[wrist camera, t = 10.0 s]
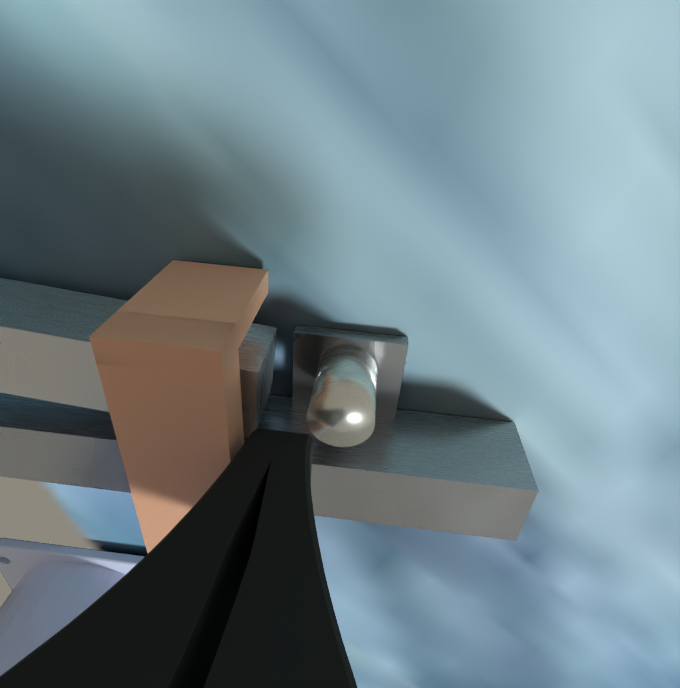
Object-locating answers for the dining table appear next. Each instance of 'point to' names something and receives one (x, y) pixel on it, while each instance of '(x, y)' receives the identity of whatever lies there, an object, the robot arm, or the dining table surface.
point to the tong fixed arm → (323, 443)
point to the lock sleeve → (177, 384)
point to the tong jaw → (77, 355)
